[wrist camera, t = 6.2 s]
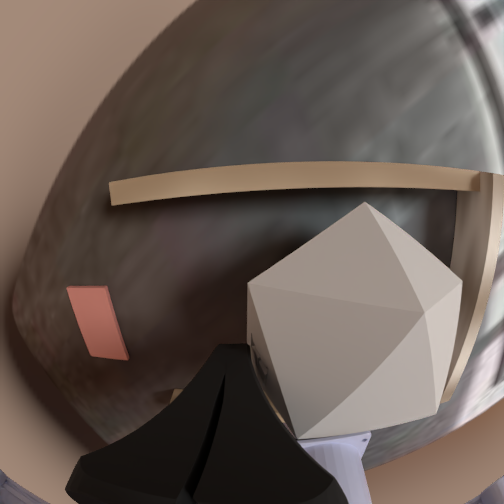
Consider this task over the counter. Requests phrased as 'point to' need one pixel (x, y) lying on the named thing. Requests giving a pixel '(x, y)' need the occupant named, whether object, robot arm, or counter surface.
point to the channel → (368, 175)
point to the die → (354, 328)
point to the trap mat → (98, 321)
